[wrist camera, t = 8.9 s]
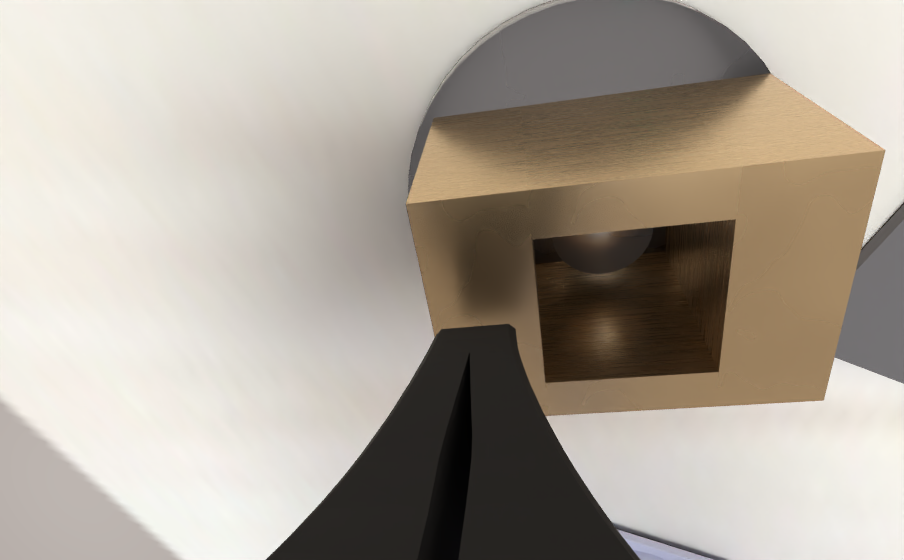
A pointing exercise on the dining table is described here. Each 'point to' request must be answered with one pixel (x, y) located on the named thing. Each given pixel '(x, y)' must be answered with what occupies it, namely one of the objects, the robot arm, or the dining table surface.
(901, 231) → the mat
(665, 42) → the hub
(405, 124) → the dining table surface
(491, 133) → the wooden cubby box
